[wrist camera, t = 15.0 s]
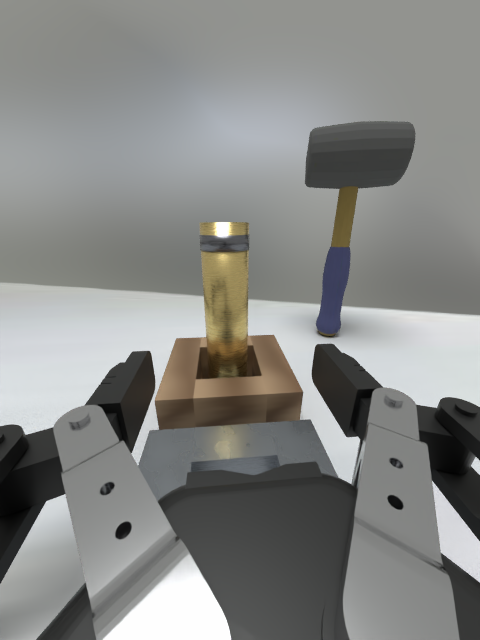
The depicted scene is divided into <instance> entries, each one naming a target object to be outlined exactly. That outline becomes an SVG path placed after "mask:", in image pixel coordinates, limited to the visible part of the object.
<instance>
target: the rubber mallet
mask: <svg viewBox="0 0 480 640" xmlns="http://www.w3.org/2000/svg"><path fill="white" fill-rule="evenodd" d="M414 143H415V129H414V127H413V125H412V124H411V123H409V122H387V121H385V122H384V121H377V122H376V121H375V122H354V123H347V124H338V125H332V126H325V127H319V128H315V129H313V130H312V131H311V132H310V137H309V144H308V151H307V157H306V175H305V184H306V186H307V187H314V188H334V189H335V188H336V189H340V190H339V197H338V204H337V210H336V217H335V223H334V230H333V237H332V243H331V247H330V249H329V251H328V255H327V259H326V263H325V267H324V273H323V293H322V300H321V307H320V313H319V316H318V318H317V321H316V326H317V329H318V332H319V333H320V334H322V335H326V336H333V335H335V334H336V333H337V332H338V330H339V329H340V326H341V321H340V312H341V306H342V300H343V295H344V291H345V288H346V285H347V281H348V276H349V268H350V248H349V244H350V237H351V230H352V224H353V218H354V212H355V205H356V199H357V193H358V188H369V187H380V186H390V185H394V184H395V183H397V182H398V181H399V180H400V179H401V177H402V176H403V175H404V173H405V171H406V169H407V167H408V164H409V162H410V159H411V156H412V152H413V148H414Z"/></svg>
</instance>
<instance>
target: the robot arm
mask: <svg viewBox="0 0 480 640" xmlns="http://www.w3.org/2000/svg"><path fill="white" fill-rule="evenodd" d="M312 379H313V383H314V385H315V386H316V388H317V389H318V391H319V393H320V394H321V396H322V398H323V399H324V401H325V403H326V404H327V406H328V408H329V409H330V411H331V412H332V414H333V416H334V417H335V419H336V421H337V422H338V424H339V426H340V427H341V429H342V430H343V432H344V434H345V435H346V437H356V436H358V437H359V438H360V443H359V447H358V453H357V458H356V463H355V468H354V474H353V479H352V484H350V483H348V482H346V481H344V480H342V479H340V478H337V477H335V476H332V475H329V474H325V473H321V471H320V468H319V466H318V464H317V461H315V462H304V463H292V464H285V465H282V466H279V467H276V468H274V469H271V470H268V471H265V472H263V473H260V474H257V475H249V474H243V473H237V472H232V471H226V470H210V471H198V472H187V479H186V485H183V486H180V487H178V488H176V489H174V490H172V491H170V492H169V493H167V494H166V495H164V496H163V497H162V498H160V499H159V500H158V501H157V500H156V498H155V496H154V494H153V493H152V491H151V489H150V487H149V485H148V484H147V482H146V480H145V478H144V476H143V475H142V473H141V471H140V469H139V467H138V466H137V464H136V462H135V460H134V458H133V456H132V455H131V453H132V451H133V448H134V445H135V443H136V440H137V437H138V435H139V432H140V429H141V426H142V424H143V421H144V418H145V416H146V413H147V410H148V407H149V405H150V402H151V399H152V397H153V394H154V391H155V375H154V369H153V362H152V356H151V353H150V351H135V352H132V353H131V354H130V356H129V357H128V359H127V360H126V362H125V363H119V364H118V365H116V366H115V367H113V368H112V369H111V370H110V371H109V372H108V374H107V375H106V377H105V378H104V379H103V381H102V382H101V385H99V386H98V388H97V389H96V390H95V392H94V393H93V395H92V396H91V397H90V399H89V400H88V401H87V403H86V404H85V406H81V407H78V408H75V409H73V410H71V411H69V412H67V413H66V414H64V415H63V416H62V417H61V418H59V420H58V421H57V422H56V423H55V425H54V427H53V428H50V429H46V430H43V431H39V432H35V433H32V434H28V435H25V433H24V431H23V429H22V427H20V426H19V425H5V426H0V583H1V581H2V580H3V578H4V576H5V574H6V572H7V571H8V569H9V567H10V565H11V563H12V562H13V560H14V558H15V556H16V554H17V553H18V551H19V549H20V547H21V545H22V544H23V542H24V540H25V538H26V536H27V535H28V533H29V531H30V529H31V527H32V526H33V524H34V522H35V520H36V518H37V517H38V515H39V513H40V511H41V509H42V508H43V506H44V504H45V502H46V501H48V500H50V499H53V498H56V497H58V496H61V495H64V494H66V498H67V503H68V507H69V511H70V516H71V520H72V525H73V529H74V533H75V538H76V542H77V546H78V551H79V555H80V560H81V564H82V568H83V573H84V577H85V581H86V582H85V583H84V585H83V586H82V587H81V588H80V589H79V590H78V592H77V593H76V594H75V595H74V596H73V597H72V599H71V600H70V601H69V602H68V603H67V604H66V606H65V607H64V608H63V609H62V610H61V611H60V613H59V614H58V615H57V616H56V617H55V618H54V620H53V621H52V622H51V623H50V624H49V625H48V627H47V628H46V629H45V630H44V631H43V632H42V634H41V635H40V636H39V637H38V638H37V639H36V640H480V583H479V582H478V581H477V580H476V579H474V578H473V577H472V576H470V575H469V574H468V573H466V572H465V571H464V570H463V569H461V568H460V567H459V566H457V565H456V564H455V563H454V562H452V561H451V560H450V559H448V558H447V557H446V556H444V555H443V554H442V553H441V552H440V543H439V535H438V527H437V519H436V511H435V502H434V494H433V486H432V481H433V482H434V483H435V485H436V486H437V487H438V488H439V490H440V491H441V492H442V494H443V495H444V496H445V497H446V499H447V500H448V501H449V502H450V504H451V505H452V506H453V508H454V509H455V510H456V511H457V513H458V514H459V515H460V517H461V518H462V519H463V520H464V522H465V523H466V524H467V526H468V527H469V528H470V529H471V531H472V532H473V533H474V535H475V536H476V537H477V538H478V540H479V541H480V475H479V474H478V473H477V472H476V471H475V470H474V469H473V468H472V467H471V464H472V462H473V461H474V459H475V457H477V458H478V459H479V460H480V407H478V406H476V405H474V404H472V403H470V402H468V401H465V400H462V399H458V398H451V397H447V398H442V399H441V400H440V402H439V404H438V407H437V408H433V407H427V406H420V405H416V404H415V402H414V401H413V400H412V399H411V398H410V397H409V396H407V395H406V394H404V393H402V392H400V391H397V390H394V389H391V388H383V387H382V386H381V385H380V384H379V383H378V382H377V381H376V380H375V379H374V378H373V377H372V376H371V375H370V374H369V373H368V372H367V371H365V369H364V368H363V367H362V366H360V364H359V363H358V362H357V361H356V360H355V359H354V358H352V357H350V356H348V355H347V354H345V353H341V352H340V350H339V349H338V348H337V347H336V346H335V345H334V344H317V345H316V347H315V352H314V359H313V366H312Z"/></svg>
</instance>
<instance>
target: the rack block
mask: <svg viewBox="0 0 480 640" xmlns="http://www.w3.org/2000/svg"><path fill="white" fill-rule="evenodd" d="M302 397H303V391H302V389H301V387H300V385H299V383H298V381H297V379H296V377H295V375H294V373H293V371H292V369H291V367H290V365H289V364H288V362H287V360H286V358H285V356H284V354H283V352H282V350H281V348H280V346H279V344H278V342H277V340H276V338H275V336H274V335H258V336H248V349H247V377H234V378H215V379H209V371H208V355H207V338H206V337H204V338H177V339H176V341H175V344H174V347H173V350H172V352H171V355H170V358H169V361H168V364H167V367H166V370H165V372H164V375H163V378H162V381H161V384H160V387H159V389H158V392H157V395H156V398H155V406H156V412H157V418H158V425H159V430H165V429H180V428H195V427H209V426H224V425H238V424H253V423H268V422H282V421H297V420H300V413H301V405H302Z"/></svg>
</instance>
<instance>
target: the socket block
mask: <svg viewBox="0 0 480 640" xmlns="http://www.w3.org/2000/svg"><path fill="white" fill-rule="evenodd" d="M315 461H317V464H318V466H319V468H320V471H321V473H325V474H329V475H332V476H335V477H337V478H338V476H337V474H336V472H335V470H334V468H333V465H332V463H331V461H330V459H329V457H328V455H327V453H326V451H325V449H324V447H323V445H322V443H321V440H320V438H319V436H318V434H317V432H316V430H315V428H314V426H313V424H312V422H311V420H297V421H282V422H268V423H253V424H238V425H224V426H209V427H195V428H180V429H165V430H151V431H149V434H148V438H147V441H146V444H145V447H144V450H143V453H142V456H141V459H140V462H139V465H138V467H139V469H140V471H141V473H142V475H143V476H144V478H145V480H146V482H147V484H148V485H149V487H150V489H151V491H152V493H153V494H154V496H155V498H156V500H157V501H158V500H159V499H160V498H162V497H163V496H164V495H166V494H167V493H169V492H170V491H172V490H174V489H176V488H178V487H180V486H183V485H186V479H187V472H198V471H210V470H226V471H232V472H237V473H243V474H249V475H257V474H260V473H263V472H265V471H268V470H271V469H274V468H276V467H279V466H282V465H285V464H292V463H304V462H315Z"/></svg>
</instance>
